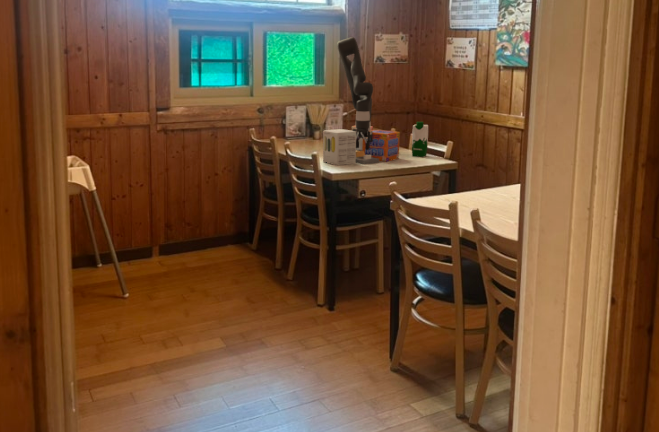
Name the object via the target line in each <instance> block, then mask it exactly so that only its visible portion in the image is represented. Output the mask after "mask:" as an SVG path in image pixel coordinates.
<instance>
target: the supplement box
mask: <svg viewBox="0 0 659 432" xmlns="http://www.w3.org/2000/svg"><path fill="white" fill-rule="evenodd" d="M322 132H323V134H322V135H323V136H322V140H323V142H322V147H323V148H322V150H323V153H322V154H323V155H322V162H323V163H325V162H327V163H326V164H330V163H331V165H335V166H341V165H351V164H357V163H356V152H357V150H356V131H352V130H348V129H343V128H340V129H339V128H338V129H326V130H323V131H322Z"/></svg>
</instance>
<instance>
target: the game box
mask: <svg viewBox="0 0 659 432" xmlns="http://www.w3.org/2000/svg"><path fill="white" fill-rule="evenodd" d="M372 132H373V142H370V148H369V150H366V149H365V147H366V142H365V140H364V139H363V146H362V150H361V151H364V153H365V155H371V157H372V158H378V159H379V162H381V163H382V162H385V163H387V162H390V161H394V160H399V158H400V138H401V137H400V135H401V132H400V131H394V130H383V129H373V130H372ZM370 140H371V138H370ZM367 141H368V140H367Z"/></svg>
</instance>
